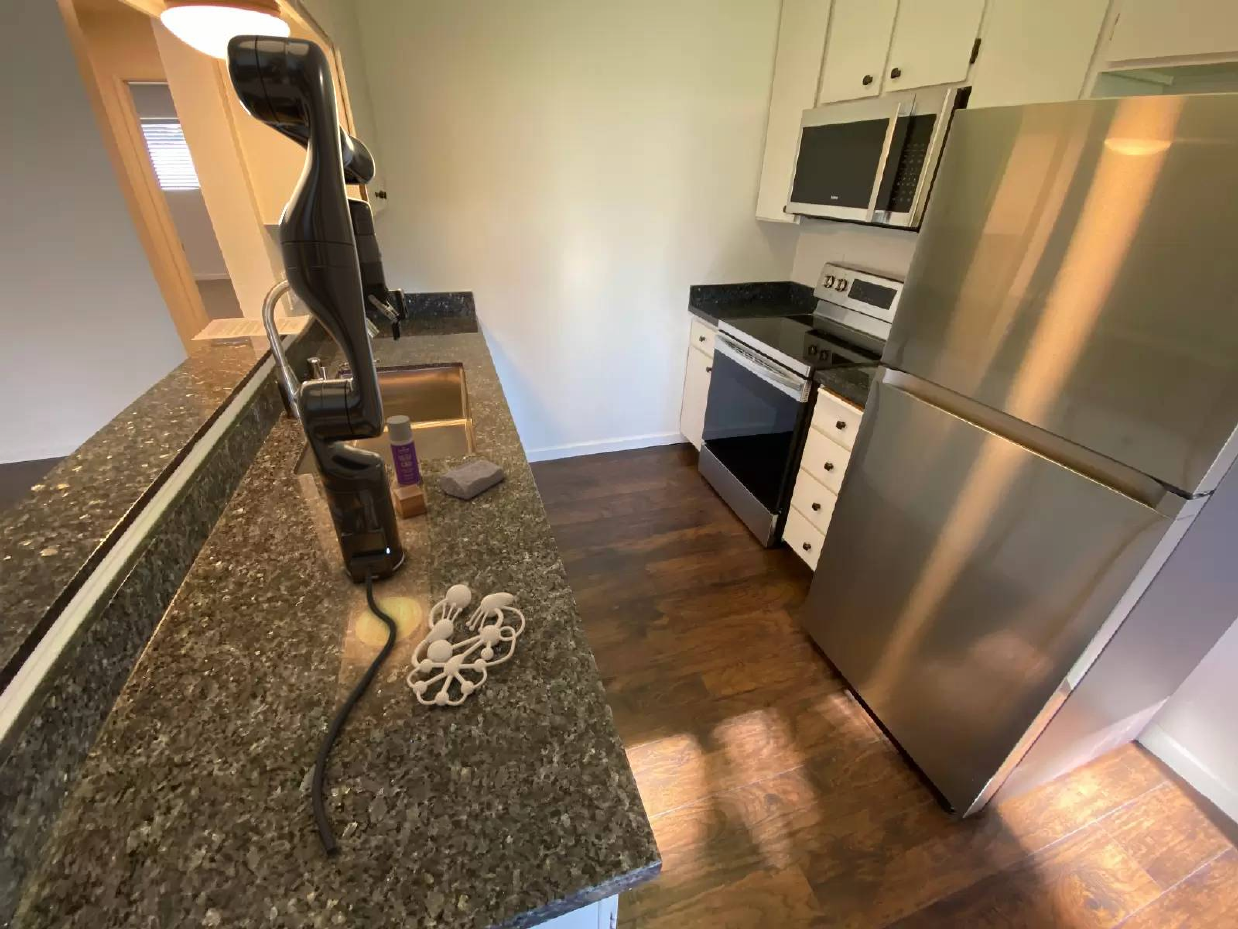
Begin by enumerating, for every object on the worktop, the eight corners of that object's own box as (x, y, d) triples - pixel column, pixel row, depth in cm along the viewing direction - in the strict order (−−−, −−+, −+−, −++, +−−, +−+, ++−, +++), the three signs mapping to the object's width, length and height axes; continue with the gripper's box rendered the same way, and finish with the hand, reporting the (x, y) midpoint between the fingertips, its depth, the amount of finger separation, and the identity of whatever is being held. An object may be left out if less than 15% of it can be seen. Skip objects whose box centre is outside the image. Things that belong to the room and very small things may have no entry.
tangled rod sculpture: (488, 725, 65) (488, 705, 63) (380, 701, 67) (376, 680, 64) (534, 612, 82) (535, 593, 80) (447, 594, 83) (445, 575, 81)
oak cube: (426, 512, 105) (422, 493, 103) (403, 519, 102) (399, 500, 100) (418, 502, 108) (415, 484, 106) (397, 508, 105) (393, 490, 103)
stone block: (437, 496, 113) (468, 502, 108) (432, 475, 111) (463, 480, 106) (477, 475, 122) (508, 480, 117) (473, 456, 121) (504, 460, 115)
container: (406, 489, 112) (393, 425, 105) (393, 482, 114) (381, 419, 107) (425, 481, 115) (414, 418, 108) (412, 474, 118) (401, 413, 111)
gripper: (315, 260, 99) (334, 344, 107) (393, 261, 101) (406, 344, 109) (330, 255, 106) (347, 335, 113) (402, 256, 108) (415, 335, 115)
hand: (376, 339), depth 111 cm, fingers open, 8 cm apart
